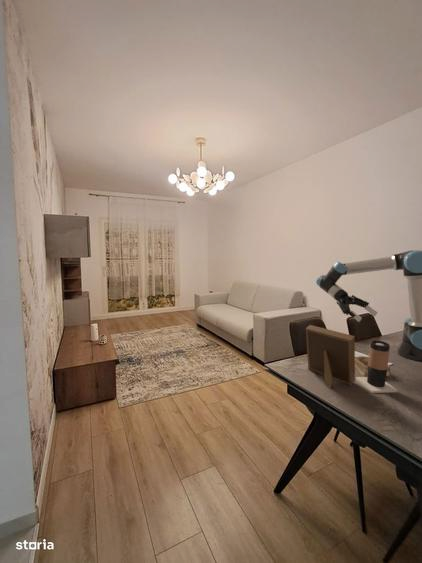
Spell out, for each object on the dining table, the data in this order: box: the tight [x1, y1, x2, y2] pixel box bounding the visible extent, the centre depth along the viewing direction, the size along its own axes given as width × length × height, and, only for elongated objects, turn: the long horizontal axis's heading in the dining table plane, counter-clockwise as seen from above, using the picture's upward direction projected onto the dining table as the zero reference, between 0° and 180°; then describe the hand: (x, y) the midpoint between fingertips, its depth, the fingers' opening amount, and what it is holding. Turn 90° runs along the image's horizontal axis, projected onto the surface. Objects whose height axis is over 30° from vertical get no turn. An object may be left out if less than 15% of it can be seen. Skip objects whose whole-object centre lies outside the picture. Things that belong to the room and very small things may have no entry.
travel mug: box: [366, 340, 391, 387], centre depth 121 cm, size 8×8×20 cm
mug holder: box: [355, 355, 391, 377], centre depth 137 cm, size 13×13×5 cm
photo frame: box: [305, 324, 356, 389], centre depth 126 cm, size 15×22×25 cm
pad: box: [355, 376, 398, 394], centre depth 122 cm, size 12×12×1 cm
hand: (368, 317), depth 141 cm, fingers open, 13 cm apart
